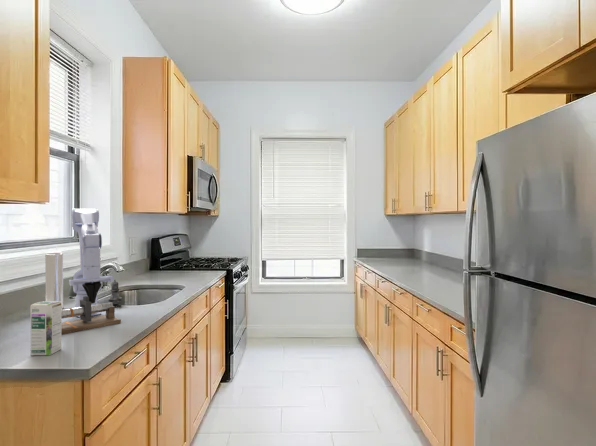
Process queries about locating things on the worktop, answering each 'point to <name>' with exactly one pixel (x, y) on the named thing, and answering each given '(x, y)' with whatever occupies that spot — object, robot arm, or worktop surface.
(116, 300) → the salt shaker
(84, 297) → the grey pipe bracket
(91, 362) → the worktop surface
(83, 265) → the robot arm
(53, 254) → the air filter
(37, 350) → the syrup box
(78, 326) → the pipe stand
